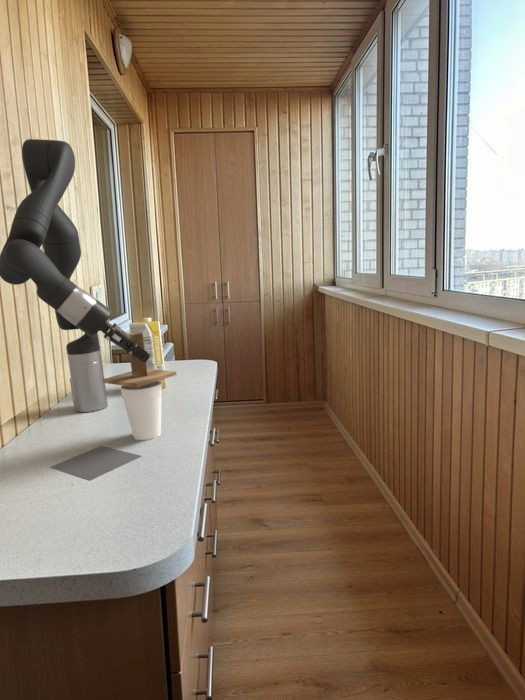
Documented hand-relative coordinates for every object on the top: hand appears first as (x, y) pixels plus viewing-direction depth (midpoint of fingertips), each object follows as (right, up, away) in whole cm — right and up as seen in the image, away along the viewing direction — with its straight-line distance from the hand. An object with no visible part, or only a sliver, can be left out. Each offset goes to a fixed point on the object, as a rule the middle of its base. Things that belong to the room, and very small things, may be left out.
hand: (146, 357), depth 114 cm
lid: (-2, -5, 0) cm, 5 cm away
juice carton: (-10, -11, +49) cm, 52 cm away
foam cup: (0, -19, +3) cm, 20 cm away
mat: (-8, -22, -11) cm, 26 cm away
